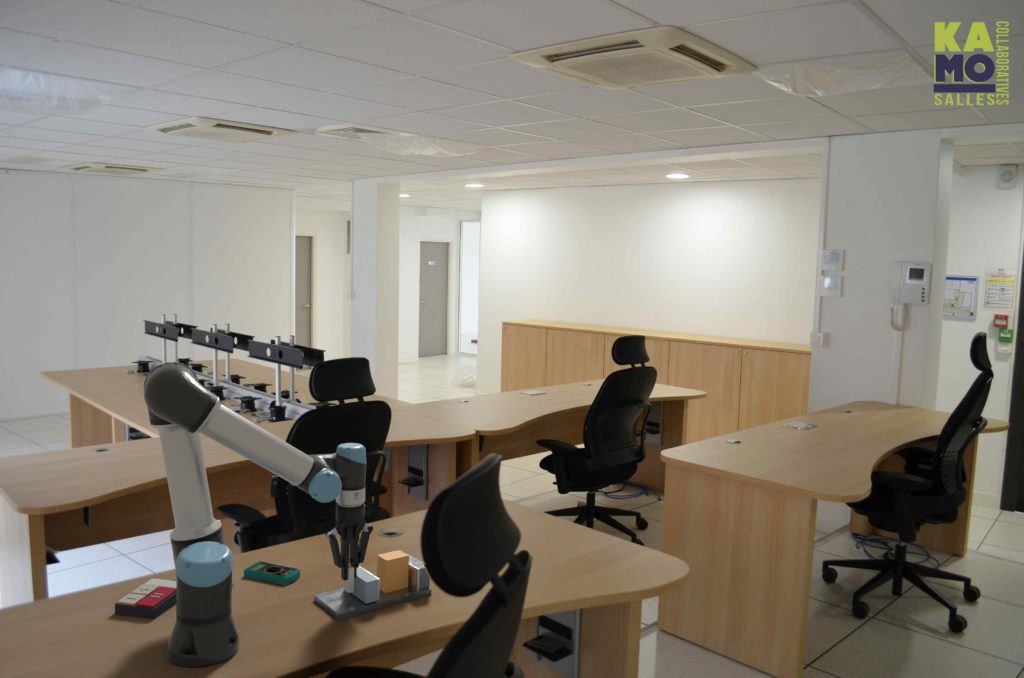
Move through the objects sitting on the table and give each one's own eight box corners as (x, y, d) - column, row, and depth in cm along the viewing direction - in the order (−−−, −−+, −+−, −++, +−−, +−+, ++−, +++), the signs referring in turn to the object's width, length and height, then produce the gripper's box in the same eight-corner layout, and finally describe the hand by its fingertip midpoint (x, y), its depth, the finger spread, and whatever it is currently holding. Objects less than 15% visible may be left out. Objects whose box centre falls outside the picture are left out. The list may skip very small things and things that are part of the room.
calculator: (113, 601, 187) (151, 575, 202) (114, 617, 188) (152, 591, 203) (154, 606, 186) (189, 580, 200) (154, 622, 186) (189, 595, 201)
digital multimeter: (286, 587, 209) (286, 577, 209) (242, 578, 214) (242, 568, 214) (302, 578, 216) (302, 568, 216) (259, 569, 221) (259, 559, 221)
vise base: (338, 619, 190) (339, 590, 190) (313, 600, 201) (314, 572, 200) (431, 594, 208) (432, 567, 208) (404, 577, 219) (405, 552, 218)
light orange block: (385, 593, 204) (386, 560, 203) (376, 586, 208) (377, 554, 207) (407, 587, 208) (409, 555, 208) (398, 581, 212) (399, 549, 211)
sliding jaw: (365, 603, 196) (366, 582, 196) (344, 588, 205) (344, 567, 205) (379, 600, 199) (380, 578, 198) (357, 584, 208) (357, 564, 207)
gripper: (334, 511, 190) (332, 601, 192) (379, 502, 199) (377, 589, 201) (320, 503, 196) (319, 591, 198) (365, 495, 204) (363, 580, 206)
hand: (348, 590), depth 199 cm, fingers closed
